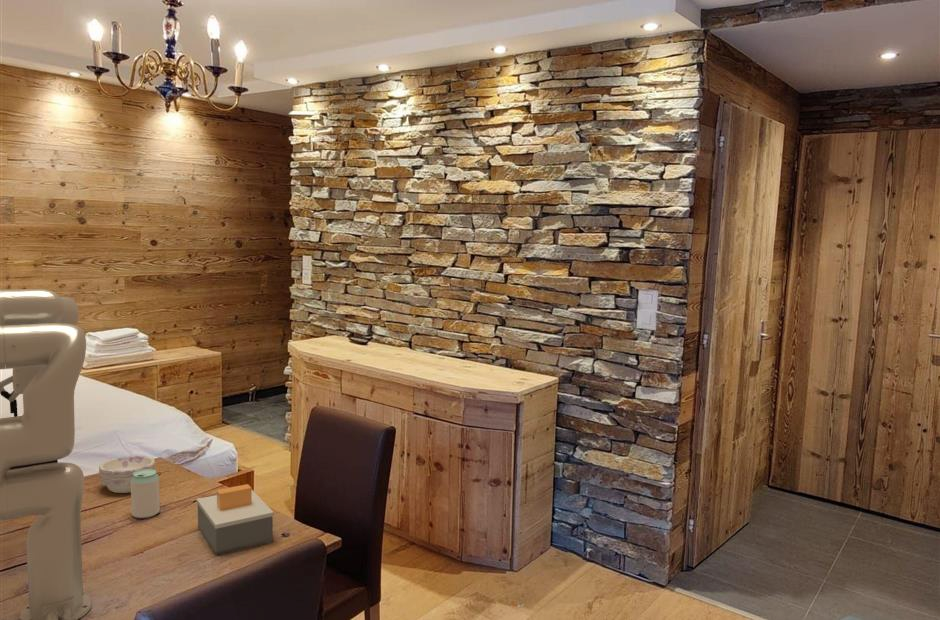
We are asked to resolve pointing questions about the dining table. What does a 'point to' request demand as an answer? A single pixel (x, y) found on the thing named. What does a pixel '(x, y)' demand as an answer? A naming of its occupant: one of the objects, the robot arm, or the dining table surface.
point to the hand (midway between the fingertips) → (38, 413)
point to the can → (145, 494)
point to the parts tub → (235, 534)
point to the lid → (234, 506)
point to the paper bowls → (123, 472)
